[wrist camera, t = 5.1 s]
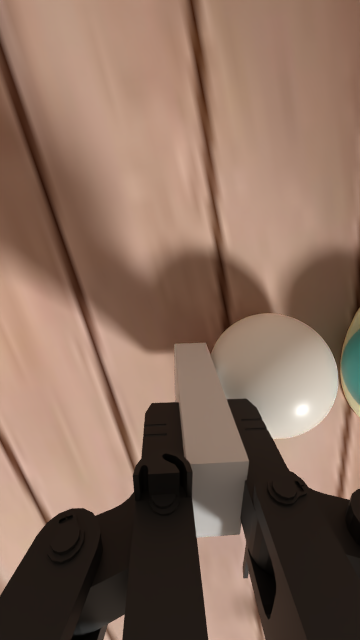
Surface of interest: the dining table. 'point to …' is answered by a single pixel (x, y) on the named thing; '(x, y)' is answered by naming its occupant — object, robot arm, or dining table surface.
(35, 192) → the dining table surface
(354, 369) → the teal ball
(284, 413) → the cue ball
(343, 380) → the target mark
